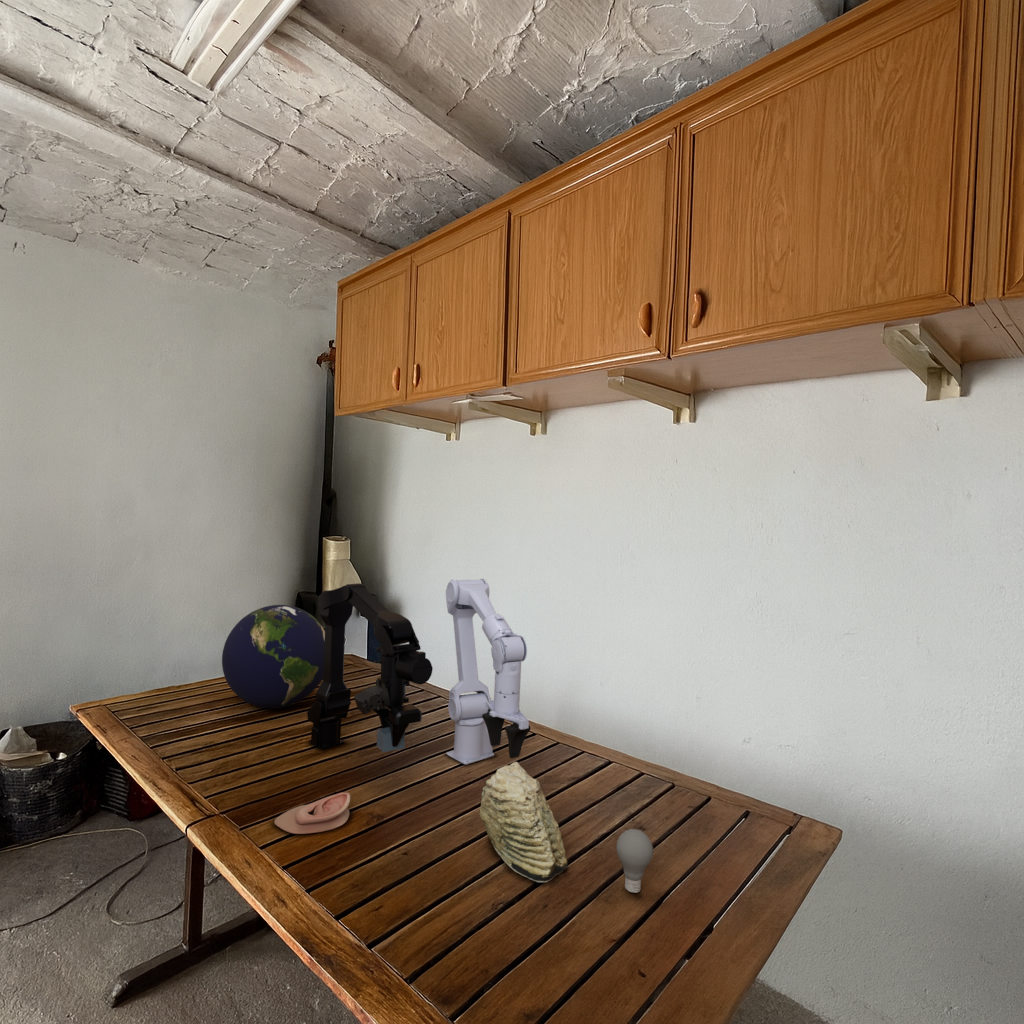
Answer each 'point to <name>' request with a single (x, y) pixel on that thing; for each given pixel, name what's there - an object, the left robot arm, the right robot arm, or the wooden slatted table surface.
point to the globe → (274, 656)
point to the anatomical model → (316, 815)
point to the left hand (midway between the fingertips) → (390, 742)
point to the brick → (388, 740)
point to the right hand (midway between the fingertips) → (504, 751)
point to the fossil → (522, 824)
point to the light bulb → (634, 857)
